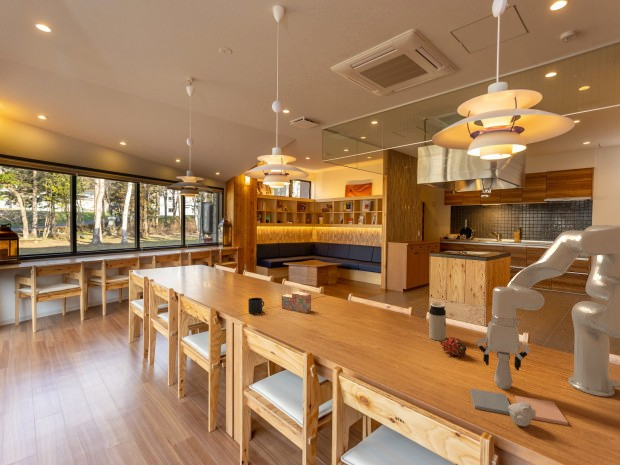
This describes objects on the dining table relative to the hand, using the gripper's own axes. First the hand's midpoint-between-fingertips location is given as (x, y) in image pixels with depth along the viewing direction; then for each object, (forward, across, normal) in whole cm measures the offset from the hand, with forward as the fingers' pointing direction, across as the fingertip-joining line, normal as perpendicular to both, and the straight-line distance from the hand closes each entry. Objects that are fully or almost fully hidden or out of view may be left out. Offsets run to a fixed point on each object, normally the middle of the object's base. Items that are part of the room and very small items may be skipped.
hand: (501, 366), depth 114 cm
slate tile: (+8, +6, +13) cm, 16 cm away
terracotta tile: (+8, -8, +13) cm, 17 cm away
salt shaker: (+8, -1, 0) cm, 8 cm away
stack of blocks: (+10, +112, -68) cm, 131 cm away
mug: (+11, +135, -54) cm, 146 cm away
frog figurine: (+8, -1, +23) cm, 24 cm away
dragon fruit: (+8, +14, -24) cm, 29 cm away
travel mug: (+8, +20, -43) cm, 48 cm away
